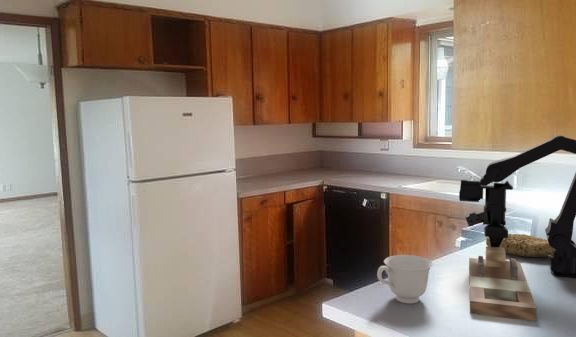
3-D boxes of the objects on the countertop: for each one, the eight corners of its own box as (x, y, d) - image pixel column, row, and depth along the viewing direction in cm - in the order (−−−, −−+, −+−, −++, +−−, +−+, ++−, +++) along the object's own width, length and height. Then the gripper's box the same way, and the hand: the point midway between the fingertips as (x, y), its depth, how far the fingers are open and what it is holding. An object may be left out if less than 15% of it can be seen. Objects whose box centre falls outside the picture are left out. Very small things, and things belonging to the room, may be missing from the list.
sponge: (483, 255, 160) (543, 257, 144) (482, 232, 161) (541, 231, 145) (505, 255, 167) (564, 257, 151) (504, 233, 168) (562, 232, 152)
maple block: (503, 262, 139) (504, 247, 138) (505, 267, 134) (505, 252, 134) (485, 261, 141) (485, 246, 140) (486, 266, 136) (486, 251, 135)
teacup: (365, 296, 123) (365, 259, 122) (412, 287, 128) (412, 252, 127) (391, 314, 112) (392, 273, 111) (442, 303, 117) (443, 265, 116)
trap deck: (519, 271, 139) (520, 250, 139) (536, 321, 107) (537, 293, 106) (469, 267, 144) (469, 246, 144) (470, 312, 112) (470, 286, 111)
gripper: (466, 196, 154) (465, 243, 156) (467, 207, 137) (465, 259, 139) (504, 198, 150) (502, 245, 152) (509, 209, 133) (507, 263, 135)
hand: (493, 253), depth 145 cm, fingers closed
